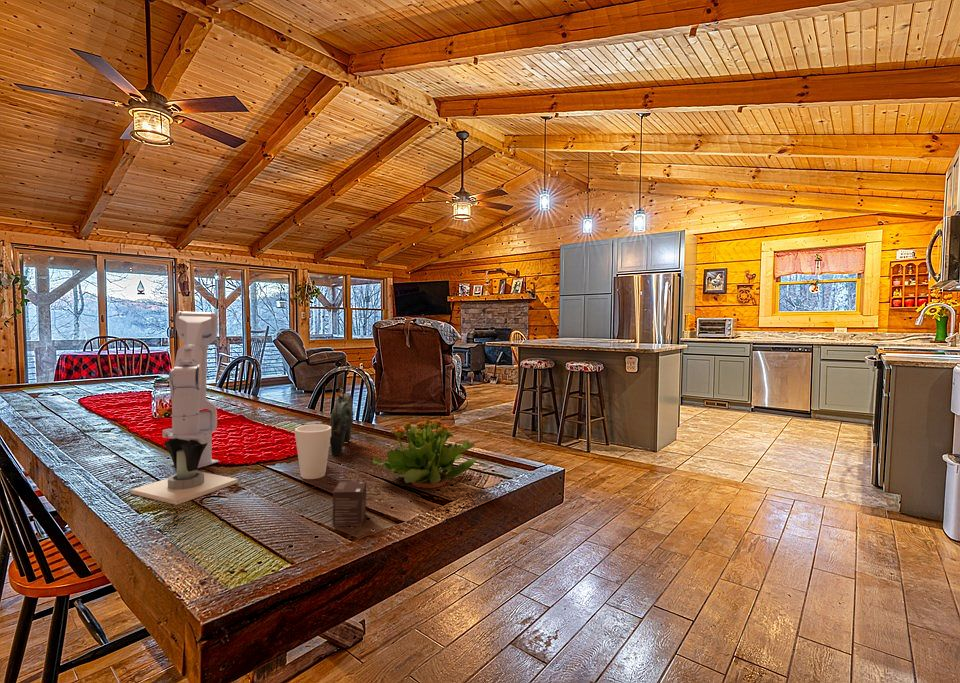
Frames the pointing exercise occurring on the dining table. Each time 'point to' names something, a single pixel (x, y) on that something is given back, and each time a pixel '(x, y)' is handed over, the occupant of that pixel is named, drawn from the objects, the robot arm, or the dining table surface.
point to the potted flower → (426, 455)
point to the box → (349, 503)
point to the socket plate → (183, 494)
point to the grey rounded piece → (183, 467)
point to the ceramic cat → (341, 422)
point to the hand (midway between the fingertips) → (186, 468)
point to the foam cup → (312, 449)
